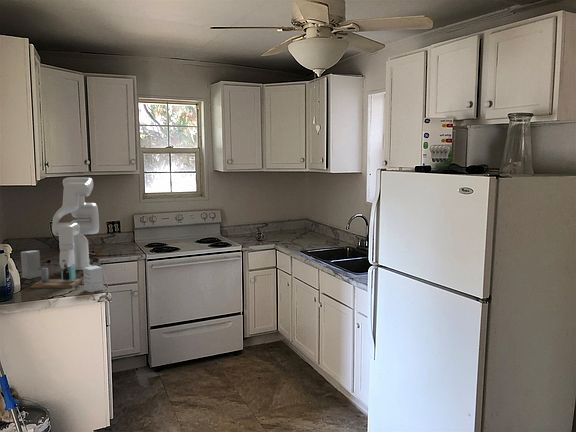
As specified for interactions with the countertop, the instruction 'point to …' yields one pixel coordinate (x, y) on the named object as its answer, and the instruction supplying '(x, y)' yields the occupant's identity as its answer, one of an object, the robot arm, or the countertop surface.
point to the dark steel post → (44, 275)
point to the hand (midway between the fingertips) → (68, 277)
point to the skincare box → (30, 264)
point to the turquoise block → (71, 273)
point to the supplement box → (93, 278)
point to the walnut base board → (56, 284)
